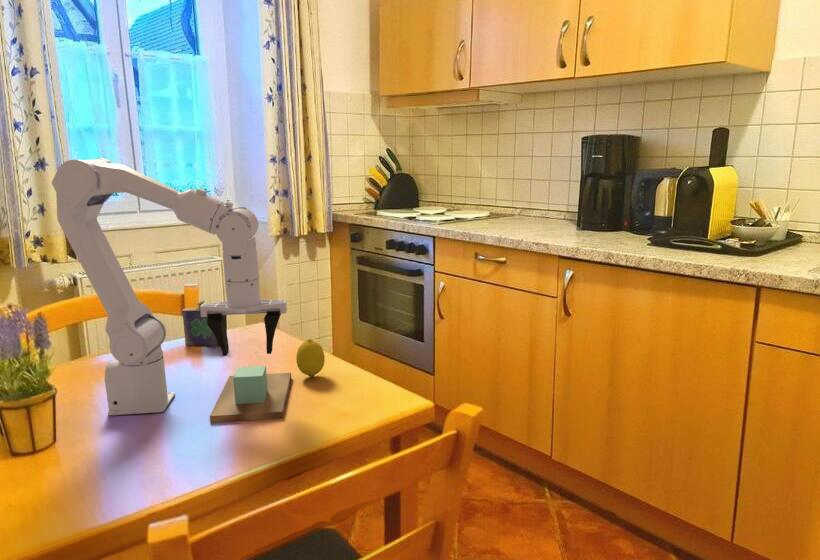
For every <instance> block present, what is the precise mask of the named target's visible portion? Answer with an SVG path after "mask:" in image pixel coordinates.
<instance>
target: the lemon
mask: <svg viewBox="0 0 820 560" xmlns="http://www.w3.org/2000/svg"><path fill="white" fill-rule="evenodd" d="M325 357H326V356H325V353H324V349H323V347H322V345H321V344H320V343H319V342H317V341H315V340H312V338H309V339H307V340H305V341H303V342H302V343H301V344H300V345H299V347H298V348H297V352H296V358H295V359H296V364H297V365H296V366H297V368H298V370H299V371H300V372H301V373H302V374H303V375H306V376H308V377H309V378H314V376H315V375H317V374H318V373H320V372H321V371H322V370H323V368H324V365H325V359H326V358H325Z"/></svg>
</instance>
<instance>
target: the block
mask: <svg viewBox="0 0 820 560" xmlns="http://www.w3.org/2000/svg"><path fill="white" fill-rule="evenodd" d="M266 374H267V365H253V366H252V365H251V366H238V367H236V370H235V372H234V375H233V376H234V377H233V383H234V394H235V404H248V403H264V402H265V399H266V395H267V392H268V389H267V375H266Z"/></svg>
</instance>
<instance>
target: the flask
mask: <svg viewBox="0 0 820 560" xmlns="http://www.w3.org/2000/svg"><path fill="white" fill-rule="evenodd" d="M205 303H206V302H205V300H202V301H198V302H196V305H197V306H198V307H188V308H187V307H186V308H183V309H182V311H181V315H182V322H183V332H184V343H185V346H186V347H188V348H194V347H195V348H205V347H206V348H220V346H219V343H218V341H217V339H216V337H215V335H214V333H213V332H212V330H211V329H210V328H209V326H208V325H207V320H208V316H207V317H201V311H200V306H201V305H202V304H205Z"/></svg>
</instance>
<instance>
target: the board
mask: <svg viewBox="0 0 820 560" xmlns="http://www.w3.org/2000/svg"><path fill="white" fill-rule="evenodd" d="M266 375H267V389H268V392H267V395H266V399H265V402H264V403H248V404H235V394H234V383H233V377H234V375H229V376H228V378H227V380H226V383H224V384H225V385H224V386H223V389H222V390H221V392H220V394H219V396H218V398H217V401H216V402H215V404H214V407H213V409H211V410H212V411H211V413H210V415H209V422H210V424H211V423H212V424H213V423H224V422H225V423H226V422H227V423H228V422H241V421H244V422H245V421H256V420H257V421H259V420H260V421H261V420H275V419H283V417H284V414H285V409H286V404H287V399H288V397H289V396H288V394H289V391H290V387H291V382H292V372H280V373H277V372H276V373H266Z"/></svg>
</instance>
